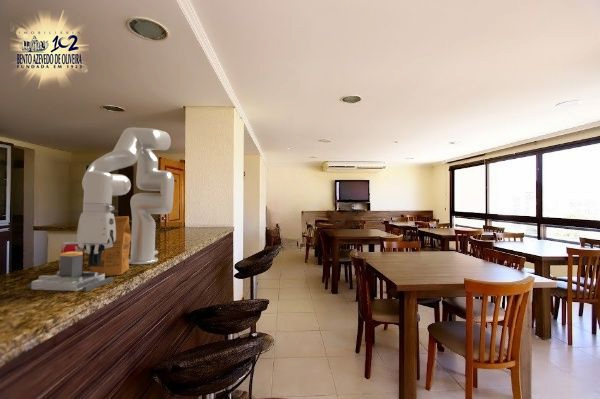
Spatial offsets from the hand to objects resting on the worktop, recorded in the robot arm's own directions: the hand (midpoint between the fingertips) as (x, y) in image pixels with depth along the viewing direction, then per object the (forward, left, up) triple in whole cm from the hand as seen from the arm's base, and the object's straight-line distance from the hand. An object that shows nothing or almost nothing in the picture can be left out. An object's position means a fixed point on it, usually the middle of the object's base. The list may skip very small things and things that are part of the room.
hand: (94, 265), depth 91 cm
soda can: (-11, -17, -7) cm, 22 cm away
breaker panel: (0, -8, -7) cm, 10 cm away
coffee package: (-16, -6, -7) cm, 18 cm away
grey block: (0, -8, -4) cm, 9 cm away
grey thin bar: (0, +1, -7) cm, 7 cm away
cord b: (0, -17, -7) cm, 18 cm away
